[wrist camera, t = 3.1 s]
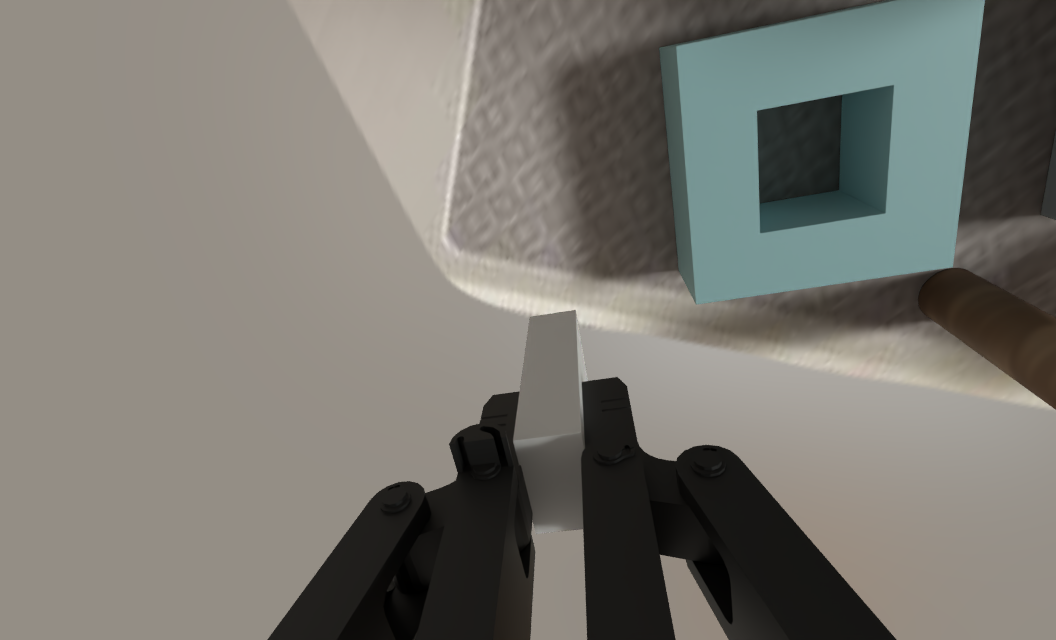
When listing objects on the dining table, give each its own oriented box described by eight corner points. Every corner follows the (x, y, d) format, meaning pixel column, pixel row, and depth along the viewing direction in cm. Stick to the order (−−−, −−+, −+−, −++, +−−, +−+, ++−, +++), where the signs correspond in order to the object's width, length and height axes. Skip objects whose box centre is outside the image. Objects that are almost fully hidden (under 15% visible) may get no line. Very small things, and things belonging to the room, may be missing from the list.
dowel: (920, 272, 32) (1174, 429, 19) (982, 264, 32) (1285, 417, 18) (916, 322, 34) (1149, 502, 20) (974, 315, 33) (1254, 493, 20)
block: (659, 47, 28) (676, 46, 24) (916, -6, 27) (987, -19, 22) (678, 270, 33) (696, 304, 29) (897, 236, 32) (952, 267, 27)
